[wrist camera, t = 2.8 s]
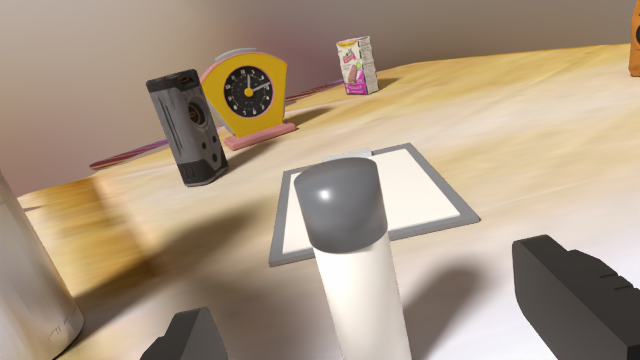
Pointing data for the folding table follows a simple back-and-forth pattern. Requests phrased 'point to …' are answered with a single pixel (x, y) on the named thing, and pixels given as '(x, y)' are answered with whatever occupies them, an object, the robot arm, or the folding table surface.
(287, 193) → the clipboard
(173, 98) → the electronic device
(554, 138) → the folding table surface
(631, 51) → the coffee package
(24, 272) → the robot arm
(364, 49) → the candy bar box
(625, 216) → the folding table surface
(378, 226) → the marker
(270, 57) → the yellow desk clock
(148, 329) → the folding table surface
